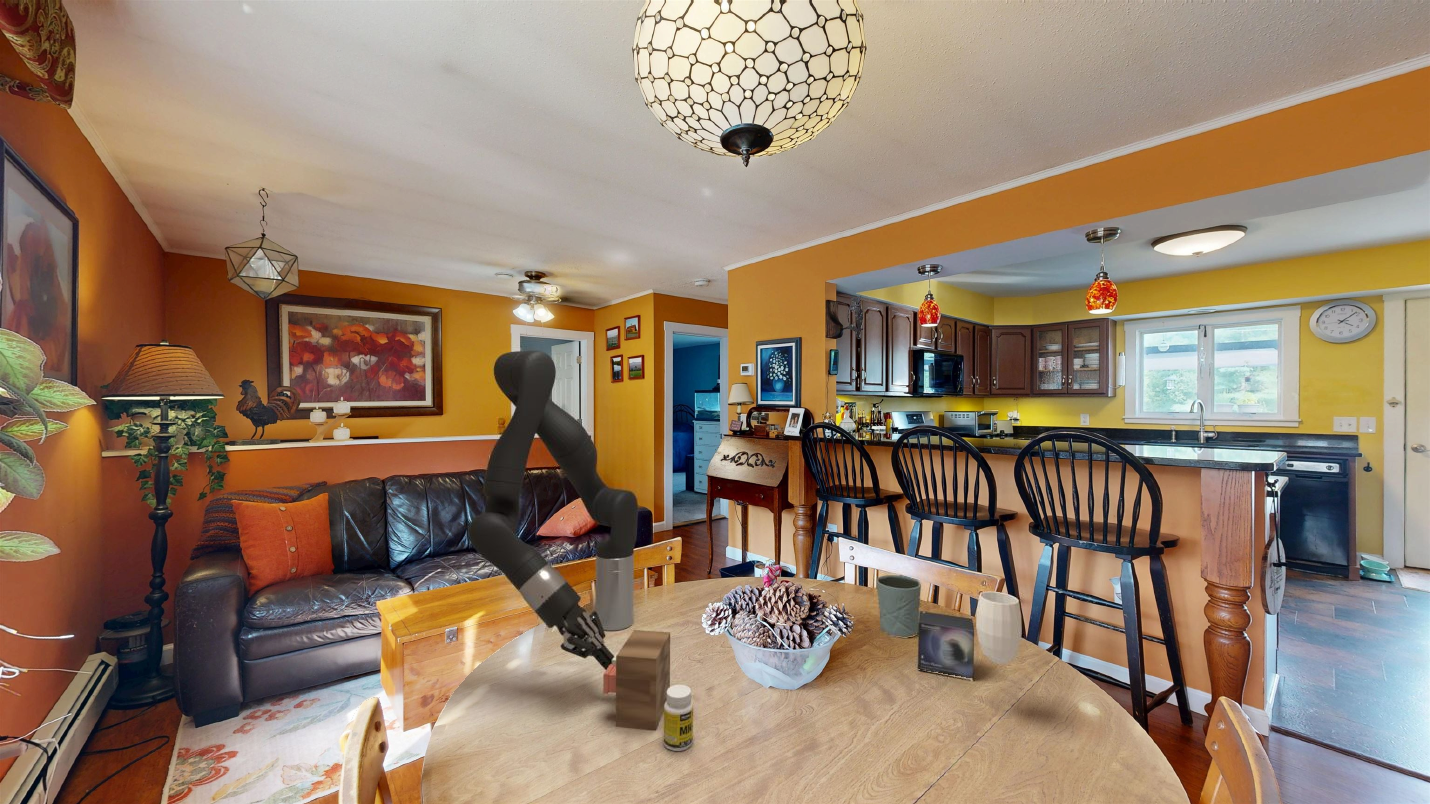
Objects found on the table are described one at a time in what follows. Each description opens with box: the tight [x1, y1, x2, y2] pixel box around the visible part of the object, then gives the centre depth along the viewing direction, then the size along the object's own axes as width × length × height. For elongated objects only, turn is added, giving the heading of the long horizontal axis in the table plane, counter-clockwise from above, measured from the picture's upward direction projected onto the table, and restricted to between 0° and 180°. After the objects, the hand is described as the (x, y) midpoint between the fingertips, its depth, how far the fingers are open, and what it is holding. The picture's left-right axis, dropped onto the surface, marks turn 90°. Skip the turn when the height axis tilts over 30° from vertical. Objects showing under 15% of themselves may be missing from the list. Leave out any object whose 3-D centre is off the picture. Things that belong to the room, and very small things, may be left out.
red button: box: [602, 664, 616, 695], centre depth 94 cm, size 3×8×3 cm, turn 82°
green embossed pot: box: [876, 574, 922, 637], centre depth 130 cm, size 10×10×12 cm
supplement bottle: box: [663, 684, 694, 752], centre depth 87 cm, size 5×5×8 cm
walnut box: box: [615, 629, 671, 731], centre depth 96 cm, size 10×7×12 cm
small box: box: [917, 610, 975, 679], centre depth 111 cm, size 11×6×10 cm, turn 68°
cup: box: [975, 591, 1023, 665], centre depth 96 cm, size 7×7×21 cm
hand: (611, 665), depth 99 cm, fingers closed
